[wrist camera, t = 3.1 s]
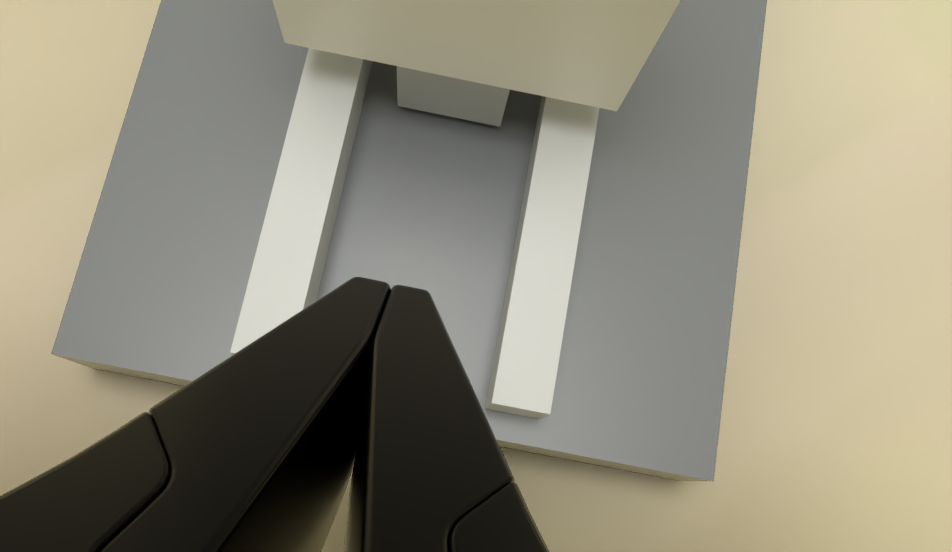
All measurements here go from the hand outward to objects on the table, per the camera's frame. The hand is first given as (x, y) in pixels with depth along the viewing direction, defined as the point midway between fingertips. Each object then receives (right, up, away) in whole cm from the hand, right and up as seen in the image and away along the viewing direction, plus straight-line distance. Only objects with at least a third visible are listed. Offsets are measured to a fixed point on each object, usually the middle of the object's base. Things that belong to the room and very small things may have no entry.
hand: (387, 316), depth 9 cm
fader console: (+1, +5, +9) cm, 11 cm away
